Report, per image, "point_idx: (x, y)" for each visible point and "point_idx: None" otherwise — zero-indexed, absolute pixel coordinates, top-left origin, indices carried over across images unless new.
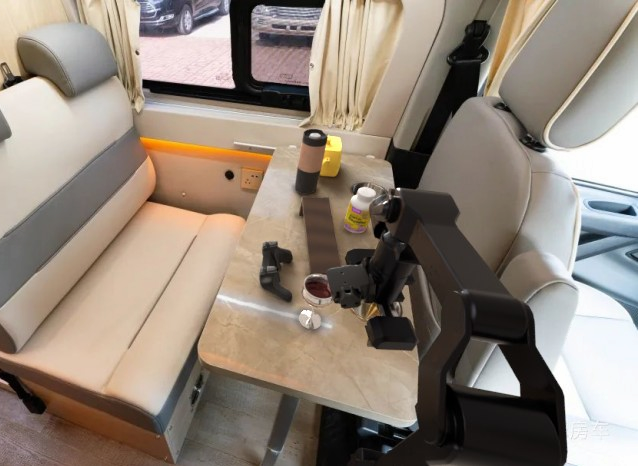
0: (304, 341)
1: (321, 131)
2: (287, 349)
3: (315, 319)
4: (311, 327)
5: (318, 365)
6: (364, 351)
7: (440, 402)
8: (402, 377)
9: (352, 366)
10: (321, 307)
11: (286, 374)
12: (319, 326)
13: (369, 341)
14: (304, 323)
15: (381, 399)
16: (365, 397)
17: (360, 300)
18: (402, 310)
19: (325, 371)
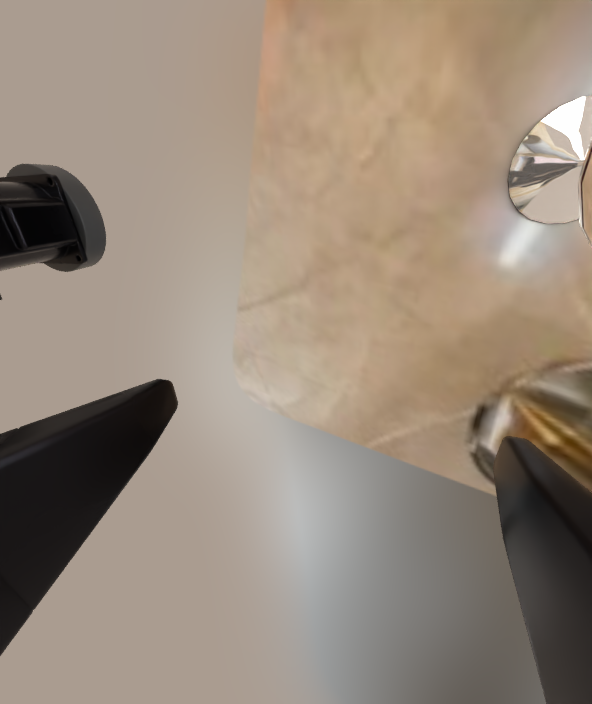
0: (448, 123)
1: None
2: (414, 19)
3: (562, 191)
4: (520, 166)
5: (337, 180)
6: (385, 348)
7: None
8: (313, 406)
9: (337, 298)
10: (584, 162)
11: (295, 22)
12: (517, 209)
13: (67, 414)
14: (555, 126)
15: (257, 342)
16: (256, 307)
17: (499, 487)
18: None
19: (317, 205)
